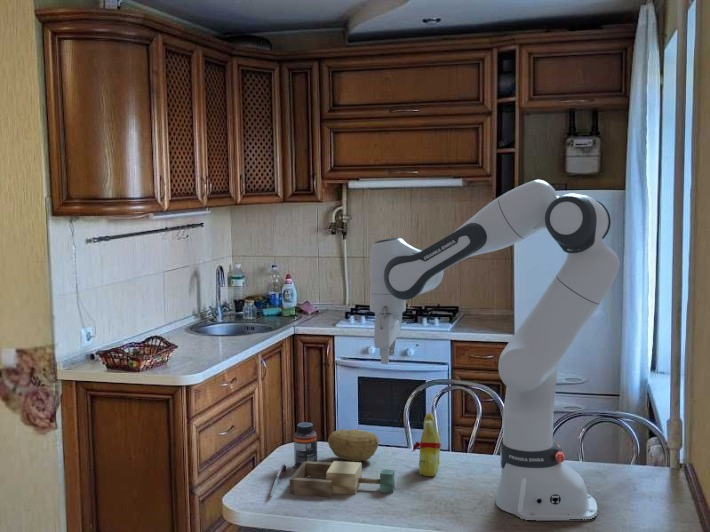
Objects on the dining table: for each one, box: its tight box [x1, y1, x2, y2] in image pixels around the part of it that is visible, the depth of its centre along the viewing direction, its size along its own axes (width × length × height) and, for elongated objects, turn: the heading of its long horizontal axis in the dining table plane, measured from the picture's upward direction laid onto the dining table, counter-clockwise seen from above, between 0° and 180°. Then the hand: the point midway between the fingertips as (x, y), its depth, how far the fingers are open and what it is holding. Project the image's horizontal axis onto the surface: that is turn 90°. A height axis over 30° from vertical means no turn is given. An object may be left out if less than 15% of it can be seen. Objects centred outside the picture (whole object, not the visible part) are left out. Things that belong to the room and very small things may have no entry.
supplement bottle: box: [293, 421, 318, 470], centre depth 212 cm, size 6×6×11 cm
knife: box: [269, 464, 287, 497], centre depth 200 cm, size 20×1×3 cm, turn 176°
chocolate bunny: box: [412, 412, 442, 477], centre depth 208 cm, size 7×11×15 cm, turn 167°
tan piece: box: [289, 461, 333, 498], centre depth 199 cm, size 10×13×4 cm
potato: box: [327, 429, 380, 462], centre depth 217 cm, size 10×14×8 cm
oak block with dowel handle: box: [325, 460, 396, 495], centre depth 197 cm, size 16×8×5 cm, turn 79°
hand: (388, 359), depth 202 cm, fingers open, 8 cm apart
